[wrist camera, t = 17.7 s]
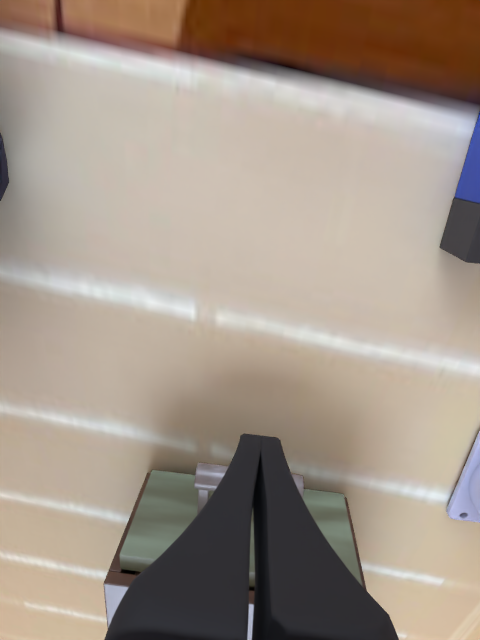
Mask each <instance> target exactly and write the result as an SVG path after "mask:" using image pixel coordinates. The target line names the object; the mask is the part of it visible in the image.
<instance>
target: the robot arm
mask: <svg viewBox="0 0 480 640" xmlns="http://www.w3.org/2000/svg"><path fill="white" fill-rule="evenodd" d="M252 511H253V523H254V559H255V590H254V608H253V625H252V640H399V639H398V636H397V634H396V631H395V629H394V626H393V624H392V621H391V619H390V617H389V615H388V614H387V612H386V611H385V610H384V609H383V608H382V607H381V606H380V605H379V604H378V603H377V602H376V601H375V600H374V599H373V598H372V597H371V595H370V594H369V593H368V592H367V591H366V590H365V589H364V588H363V586H362V585H361V584H360V583H359V582H358V580H357V579H356V578H355V577H354V576H353V574H352V573H351V572H350V571H349V569H348V568H347V567H346V565H345V564H344V563H343V561H342V560H341V559H340V557H339V556H338V555H337V553H336V552H335V551H334V549H333V548H332V547H331V545H330V544H329V542H328V541H327V539H326V538H325V536H324V535H323V533H322V532H321V530H320V528H319V527H318V525H317V524H316V522H315V520H314V519H313V517H312V515H311V513H310V512H309V510H308V508H307V506H306V504H305V502H304V500H303V498H302V496H301V494H300V492H299V490H298V488H297V486H296V483H295V481H294V479H293V477H292V474H291V472H290V469H289V467H288V464H287V461H286V459H285V456H284V453H283V449H282V446H281V441H280V440H279V438H276V437H267V436H259V435H251V434H243V435H241V436H240V441H239V444H238V447H237V450H236V452H235V455H234V457H233V459H232V461H231V463H230V465H229V467H228V469H227V471H226V473H225V475H224V476H223V478H222V480H221V481H220V483H219V485H218V486H217V488H216V489H215V491H214V493H213V494H212V496H211V497H210V499H209V500H208V501H207V503H206V504H205V506H204V507H203V508H202V510H201V511H200V512H199V514H198V515H197V516H196V517H195V519H194V520H193V521H192V522H191V523H190V525H189V526H188V527H187V528H186V529H185V530H184V532H183V533H182V534H181V535H180V536H179V537H178V538H177V539H176V540H175V541H174V542H173V543H172V544H171V545H170V546H169V547H168V548H167V549H166V550H165V551H164V552H163V553H162V554H161V555H160V556H159V557H158V558H157V559H156V560H155V561H154V562H153V563H152V564H150V565H149V566H148V567H147V568H146V569H145V570H144V571H142V572H141V573H140V574H139V575H138V576H137V577H136V578H134V580H133V581H132V583H131V584H130V586H129V588H128V589H127V591H126V593H125V594H124V596H123V598H122V600H121V601H120V603H119V605H118V607H117V609H116V611H115V614H114V616H113V618H112V620H111V623H110V625H109V628H108V631H107V634H106V637H105V640H247V637H248V618H249V567H250V537H251V517H252ZM446 512H447V514H448V516H449V517H450V518H452V519H457V520H464V521H472V522H480V431H479V433H478V435H477V438H476V440H475V443H474V445H473V447H472V450H471V452H470V455H469V457H468V459H467V462H466V464H465V467H464V469H463V471H462V474H461V476H460V479H459V481H458V483H457V486H456V488H455V491H454V493H453V495H452V498H451V500H450V503H449V505H448V507H447V511H446Z"/></svg>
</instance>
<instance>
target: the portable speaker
mask: <svg viewBox="0 0 480 640" xmlns="http://www.w3.org/2000/svg"><path fill="white" fill-rule="evenodd" d="M8 183H9V178H8V168H7V159H6V154H5V150H4V145H3V140H2V136H1V133H0V201H1V199H2V197H3V195H4V192H5V190H6V188H7V186H8Z"/></svg>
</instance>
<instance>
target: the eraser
mask: <svg viewBox="0 0 480 640" xmlns="http://www.w3.org/2000/svg"><path fill="white" fill-rule="evenodd" d="M440 248H441V249H443V250H445V251H447V252H449V253H450V254H452V255H454V256H456V257H458V258H459V259H461V260H463V261H465V262H469V263H479V264H480V112H479V116H478V119H477V122H476V126H475V129H474V133H473V136H472V139H471V143H470V146H469V150H468V153H467V156H466V160H465V163H464V167H463V170H462V173H461V177H460V180H459V183H458V187H457V190H456V194H455V198H454V200H453V203H452V207H451V210H450V213H449V217H448V220H447V224H446V227H445V230H444V234H443V237H442V241H441V244H440Z"/></svg>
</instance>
